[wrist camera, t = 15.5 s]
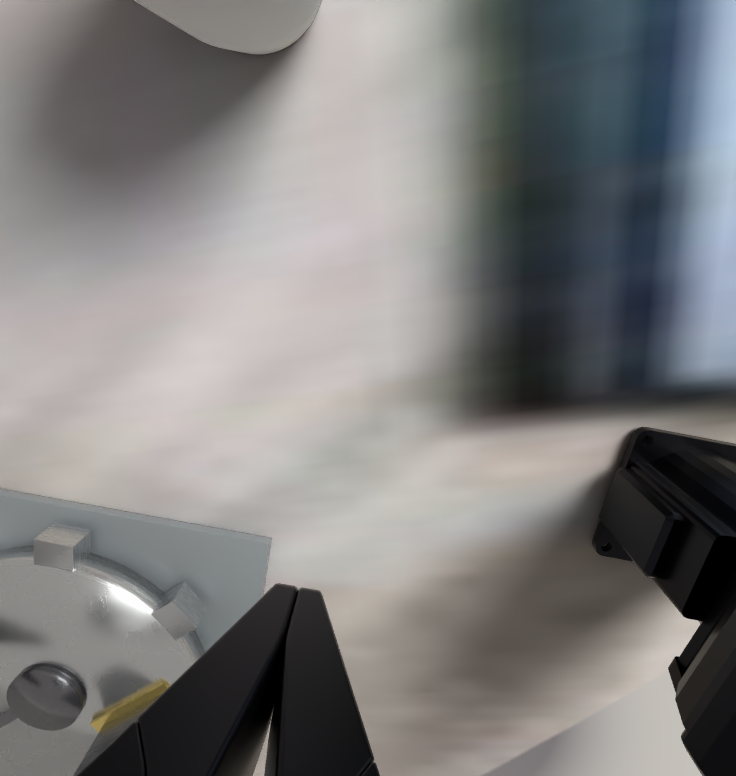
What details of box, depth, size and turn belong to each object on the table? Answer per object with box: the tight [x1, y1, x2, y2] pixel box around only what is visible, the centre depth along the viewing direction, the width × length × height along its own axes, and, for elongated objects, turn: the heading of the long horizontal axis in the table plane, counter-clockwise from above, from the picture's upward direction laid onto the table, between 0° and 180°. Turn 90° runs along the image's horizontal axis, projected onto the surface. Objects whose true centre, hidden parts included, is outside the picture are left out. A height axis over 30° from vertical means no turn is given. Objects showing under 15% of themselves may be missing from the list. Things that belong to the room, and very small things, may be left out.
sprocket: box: [0, 522, 207, 776], centre depth 20 cm, size 18×18×10 cm
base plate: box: [0, 489, 272, 652], centre depth 25 cm, size 19×19×1 cm
